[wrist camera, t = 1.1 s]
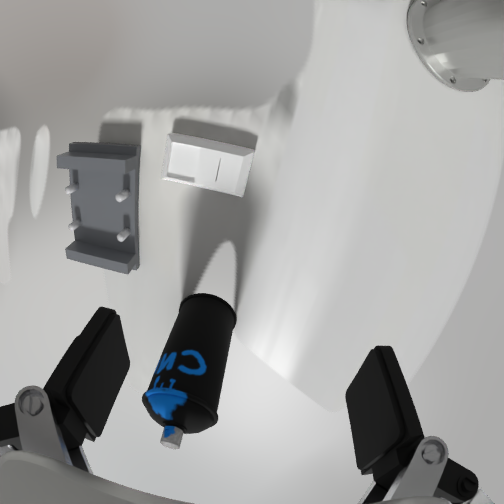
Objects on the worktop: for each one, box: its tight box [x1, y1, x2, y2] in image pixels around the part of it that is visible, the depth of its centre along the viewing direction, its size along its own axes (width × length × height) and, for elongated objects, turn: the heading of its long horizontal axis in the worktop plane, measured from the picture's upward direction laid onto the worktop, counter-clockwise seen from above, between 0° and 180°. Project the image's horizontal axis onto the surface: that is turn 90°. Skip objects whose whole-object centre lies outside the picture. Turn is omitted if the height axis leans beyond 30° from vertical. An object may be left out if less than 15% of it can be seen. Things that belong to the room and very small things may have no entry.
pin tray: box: [57, 142, 141, 274], centre depth 30 cm, size 16×10×4 cm, turn 170°
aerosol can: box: [142, 293, 236, 449], centre depth 30 cm, size 8×8×20 cm
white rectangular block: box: [161, 133, 255, 197], centre depth 28 cm, size 5×9×3 cm, turn 76°
